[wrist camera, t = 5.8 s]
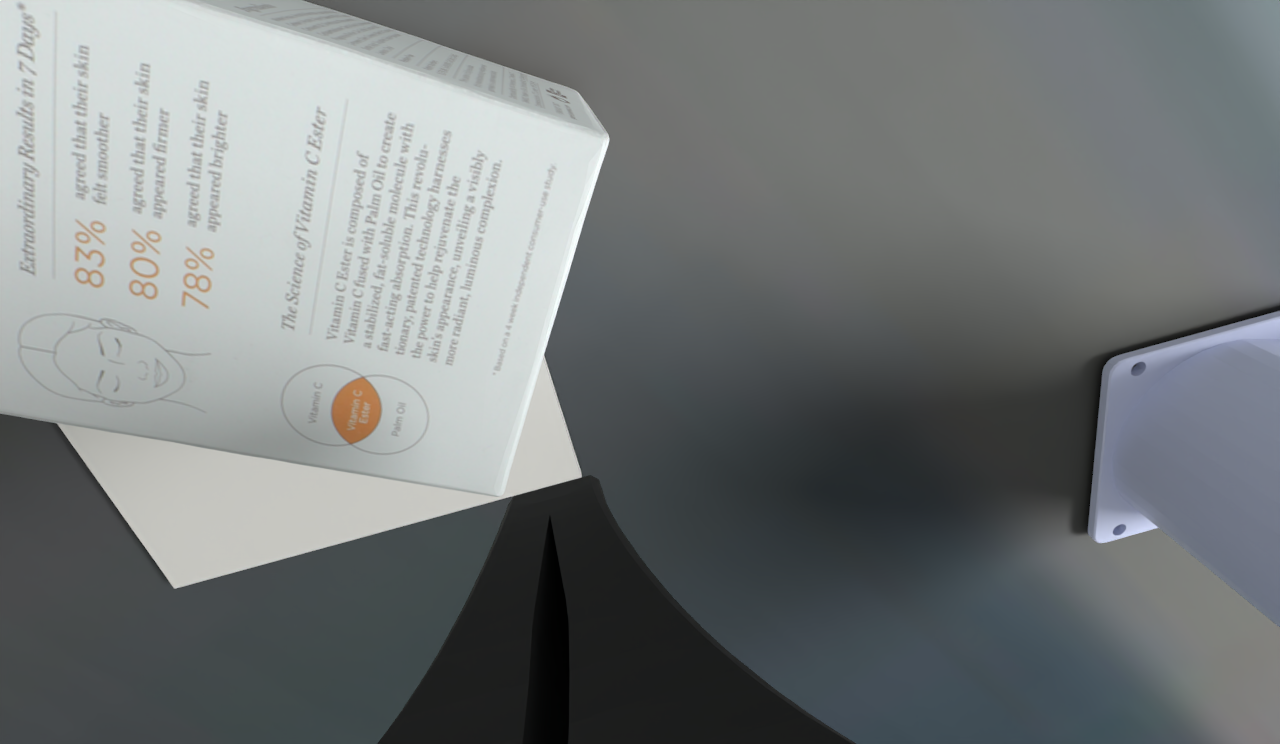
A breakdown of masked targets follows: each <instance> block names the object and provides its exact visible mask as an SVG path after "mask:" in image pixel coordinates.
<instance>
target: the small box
mask: <svg viewBox="0 0 1280 744" xmlns="http://www.w3.org/2000/svg"><path fill="white" fill-rule="evenodd" d="M608 143H609V135H608V134H607V132H606V130H605V128H604V127H603V126H602V125H601V123H600V121H599V120H598V119H597V117H596V116H595V114H594V113H593V111H592V110H591V109H590V107H589V106H588V104H587V103H586V102H585V101H584V99H583V98H582V97H581V95H580V94H579V93H578V92H577V91H576V90H573V89H571V88H568V87H566V86H563V85H559V84H556V83H553V82H550V81H547V80H544V79H541V78H538V77H535V76H532V75H529V74H526V73H523V72H520V71H517V70H514V69H511V68H508V67H505V66H502V65H499V64H496V63H493V62H490V61H487V60H484V59H481V58H478V57H475V56H472V55H469V54H466V53H463V52H460V51H457V50H454V49H451V48H448V47H445V46H442V45H439V44H436V43H433V42H431V41H428V40H425V39H422V38H419V37H416V36H413V35H410V34H407V33H404V32H401V31H398V30H395V29H391V28H388V27H385V26H382V25H379V24H376V23H373V22H370V21H367V20H364V19H361V18H357V17H354V16H351V15H348V14H345V13H342V12H339V11H335V10H332V9H329V8H326V7H322V6H319V5H316V4H313V3H309V2H306V1H303V0H0V414H6V415H12V416H18V417H23V418H29V419H35V420H41V421H47V422H52V423H58V424H64V425H71V426H77V427H83V428H89V429H95V430H101V431H106V432H111V433H119V434H126V435H132V436H138V437H143V438H149V439H156V440H163V441H169V442H175V443H180V444H185V445H190V446H195V447H201V448H206V449H212V450H218V451H223V452H229V453H234V454H240V455H246V456H252V457H259V458H265V459H271V460H277V461H282V462H288V463H293V464H299V465H305V466H311V467H318V468H324V469H330V470H336V471H342V472H348V473H354V474H360V475H366V476H372V477H377V478H383V479H389V480H395V481H401V482H407V483H413V484H420V485H426V486H432V487H438V488H444V489H450V490H456V491H462V492H468V493H474V494H481V495H487V496H494V497H500V496H501V495H503V494H504V491H505V488H506V484H507V481H508V477H509V473H510V469H511V466H512V462H513V459H514V456H515V452H516V449H517V445H518V442H519V439H520V435H521V432H522V428H523V425H524V422H525V418H526V415H527V411H528V408H529V404H530V401H531V398H532V394H533V391H534V387H535V384H536V380H537V377H538V374H539V370H540V367H541V363H542V360H543V356H544V353H545V349H546V346H547V343H548V339H549V336H550V333H551V329H552V326H553V323H554V319H555V316H556V313H557V310H558V306H559V303H560V300H561V296H562V293H563V290H564V286H565V283H566V280H567V277H568V273H569V270H570V266H571V263H572V260H573V256H574V253H575V250H576V246H577V243H578V239H579V236H580V233H581V229H582V226H583V222H584V219H585V216H586V212H587V209H588V206H589V203H590V200H591V197H592V193H593V190H594V187H595V184H596V180H597V177H598V174H599V171H600V168H601V165H602V162H603V159H604V156H605V153H606V150H607V147H608Z"/></svg>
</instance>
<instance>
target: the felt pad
mask: <svg viewBox="0 0 1280 744" xmlns="http://www.w3.org/2000/svg"><path fill="white" fill-rule="evenodd" d="M57 424H58V423H57ZM58 426H59V427H60V428H61V430H62V431H63V433H64V434H65V436H66V437H67V438H68V440H69V441H70V443H71V444H72V445H73V447H74V448H75V450H76V451H77V452H78V454H79V455H80V457H81V458H82V459H83V461H84V462H85V464H86V465H87V466H88V468H89V469H90V471H91V472H92V473H93V475H94V476H95V478H96V479H97V481H98V482H99V483H100V485H101V486H102V488H103V489H104V490H105V492H106V493H107V495H108V496H109V497H110V499H111V500H112V502H113V503H114V504H115V506H116V507H117V509H118V510H119V511H120V513H121V514H122V516H123V517H124V518H125V520H126V521H127V523H128V524H129V525H130V527H131V528H132V530H133V531H134V533H135V534H136V535H137V537H138V538H139V540H140V541H141V542H142V544H143V545H144V547H145V548H146V549H147V551H148V552H149V554H150V555H151V556H152V558H153V559H154V561H155V562H156V563H157V565H158V566H159V568H160V569H161V570H162V572H163V573H164V575H165V576H166V578H167V579H168V580H169V582H170V583H171V585H172V586H173V587H174V589H175V588H179V587H183V586H186V585H190V584H194V583H197V582H201V581H205V580H208V579H212V578H216V577H219V576H223V575H227V574H230V573H234V572H237V571H241V570H245V569H248V568H252V567H256V566H259V565H263V564H267V563H270V562H274V561H278V560H281V559H285V558H289V557H292V556H296V555H299V554H303V553H307V552H310V551H314V550H318V549H321V548H325V547H329V546H332V545H336V544H340V543H343V542H347V541H351V540H354V539H358V538H361V537H365V536H369V535H372V534H376V533H380V532H383V531H387V530H391V529H394V528H398V527H402V526H405V525H409V524H413V523H416V522H420V521H424V520H427V519H431V518H434V517H438V516H442V515H445V514H449V513H453V512H456V511H460V510H464V509H467V508H471V507H475V506H478V505H482V504H486V503H489V502H493V501H496V500H500V499H504V498H507V497H511V496H515V495H518V494H522V493H526V492H529V491H533V490H537V489H540V488H544V487H548V486H551V485H555V484H558V483H562V482H566V481H569V480H573V479H577V478H580V477H582V474H581V470H580V466H579V463H578V460H577V457H576V454H575V451H574V448H573V444H572V441H571V438H570V435H569V432H568V429H567V426H566V423H565V419H564V416H563V413H562V410H561V407H560V404H559V401H558V397H557V394H556V391H555V388H554V385H553V382H552V379H551V375H550V372H549V369H548V366H547V363H546V360H545V357H544V356H543V360H542V363H541V367H540V370H539V374H538V377H537V380H536V384H535V387H534V391H533V394H532V398H531V401H530V404H529V408H528V411H527V415H526V418H525V422H524V425H523V428H522V432H521V435H520V439H519V442H518V445H517V449H516V452H515V456H514V459H513V462H512V466H511V469H510V473H509V477H508V481H507V484H506V488H505V491H504V494H503V495H501V496H500V497H494V496H487V495H481V494H474V493H468V492H462V491H456V490H450V489H444V488H438V487H432V486H426V485H420V484H413V483H407V482H401V481H395V480H389V479H383V478H377V477H372V476H366V475H360V474H354V473H348V472H342V471H336V470H330V469H324V468H318V467H311V466H305V465H299V464H293V463H288V462H282V461H277V460H271V459H265V458H259V457H252V456H246V455H240V454H234V453H229V452H223V451H218V450H212V449H206V448H201V447H195V446H190V445H185V444H180V443H175V442H169V441H163V440H156V439H149V438H143V437H138V436H132V435H126V434H119V433H111V432H106V431H101V430H95V429H89V428H83V427H77V426H71V425H64V424H58Z"/></svg>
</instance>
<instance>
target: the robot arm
mask: <svg viewBox="0 0 1280 744" xmlns="http://www.w3.org/2000/svg"><path fill="white" fill-rule="evenodd" d="M1136 363H1137V364H1136ZM1135 364H1136V366H1135V367H1134V368H1133V369H1132V367H1133V366H1134V365H1135ZM1155 528H1160V529H1161V530H1162V531H1163V532H1164V533H1166V534H1167V535H1168V536H1169V537H1170V538H1172V539H1173V540H1174V541H1175V542H1177V543H1178V544H1179V545H1180V546H1181V547H1183V548H1184V549H1185V550H1186V551H1187V552H1189V553H1190V554H1191V555H1192V556H1194V557H1195V558H1196V559H1197V560H1198V561H1200V562H1201V563H1202V564H1203V565H1204V566H1206V567H1207V568H1208V569H1209V570H1211V571H1212V572H1213V573H1214V574H1215V575H1217V576H1218V577H1219V578H1220V579H1221V580H1223V581H1224V582H1225V583H1226V584H1228V585H1229V586H1230V587H1231V588H1232V589H1234V590H1235V591H1236V592H1237V593H1239V594H1240V595H1241V596H1242V597H1243V598H1245V599H1246V600H1247V601H1248V602H1249V603H1251V604H1252V605H1253V606H1254V607H1256V608H1257V609H1258V610H1259V611H1260V612H1262V613H1263V614H1264V615H1265V616H1266V617H1268V618H1269V619H1270V620H1271V621H1273V622H1274V623H1275V624H1276V625H1277V626H1279V627H1280V311H1277V312H1273V313H1270V314H1266V315H1262V316H1259V317H1255V318H1251V319H1248V320H1244V321H1240V322H1237V323H1233V324H1230V325H1226V326H1222V327H1219V328H1215V329H1211V330H1208V331H1204V332H1201V333H1197V334H1193V335H1190V336H1186V337H1182V338H1179V339H1175V340H1171V341H1168V342H1164V343H1161V344H1157V345H1153V346H1150V347H1146V348H1142V349H1139V350H1135V351H1132V352H1128V353H1124V354H1121V355H1117V356H1115V357H1113V358H1111V359H1110V360H1109V361H1108V362H1107V363H1106V364H1105V366H1104V368H1103V372H1102V382H1101V393H1100V404H1099V415H1098V425H1097V436H1096V447H1095V458H1094V469H1093V480H1092V490H1091V501H1090V512H1089V523H1088V535H1089V536H1090V537H1091V538H1092V539H1093V540H1094V541H1095V542H1097V543H1106V542H1109V541H1113V540H1116V539H1120V538H1123V537H1127V536H1130V535H1134V534H1137V533H1141V532H1145V531H1148V530H1152V529H1155ZM378 744H856V743H854V742H853V741H851V740H849V739H848V738H846V737H845V736H843V735H841V734H840V733H838V732H837V731H835V730H833V729H832V728H830V727H829V726H827V725H826V724H824V723H823V722H821V721H820V720H818V719H817V718H815V717H813V716H812V715H810V714H809V713H808V712H806V711H805V710H803V709H802V708H801V707H799V706H798V705H796V704H795V703H794V702H792V701H791V700H789V699H788V698H786V697H785V696H784V695H782V694H781V693H779V692H778V691H777V690H775V689H774V688H773V687H772V686H770V685H769V684H768V683H767V682H765V681H764V680H763V679H762V678H760V677H759V676H758V675H757V674H755V673H754V672H753V671H752V670H750V669H749V668H748V667H747V666H745V665H744V664H743V663H742V662H740V661H739V660H738V659H737V658H736V657H734V656H733V655H732V654H731V653H729V652H728V651H727V650H726V649H725V648H724V647H723V646H722V645H720V644H719V643H718V642H717V641H716V640H715V639H714V638H713V637H712V636H711V635H710V634H709V633H707V632H706V631H705V630H704V629H703V628H702V627H701V626H700V625H699V624H698V623H697V622H696V621H695V620H694V619H693V618H692V617H691V616H690V615H689V614H688V613H687V612H686V611H685V610H684V609H683V608H682V607H681V606H680V604H679V603H678V602H677V601H676V600H675V599H674V598H673V597H672V596H671V595H670V593H669V592H668V591H667V590H666V589H665V588H664V586H663V585H662V584H661V583H660V582H659V580H658V579H657V578H656V577H655V576H654V575H653V573H652V572H651V571H650V570H649V568H648V567H647V566H646V564H645V563H644V562H643V561H642V559H641V558H640V557H639V555H638V554H637V552H636V551H635V549H634V548H633V547H632V545H631V544H630V542H629V541H628V539H627V538H626V537H625V535H624V534H623V532H622V530H621V529H620V527H619V526H618V524H617V522H616V521H615V519H614V517H613V515H612V513H611V512H610V510H609V508H608V506H607V504H606V501H605V498H604V494H603V491H602V488H601V485H600V481H599V479H597V478H595V477H593V476H591V475H590V476H586V477H582V478H579V479H575V480H571V481H568V482H564V483H561V484H557V485H553V486H550V487H546V488H542V489H539V490H535V491H531V492H528V493H524V494H520V495H517V496H514V497H513V498H512V500H511V501H510V503H509V505H508V507H507V510H506V513H505V515H504V518H503V520H502V523H501V526H500V528H499V531H498V533H497V535H496V538H495V540H494V543H493V545H492V547H491V550H490V552H489V554H488V557H487V559H486V561H485V563H484V565H483V568H482V570H481V572H480V574H479V576H478V578H477V580H476V582H475V585H474V587H473V589H472V591H471V593H470V595H469V597H468V599H467V601H466V603H465V605H464V607H463V609H462V611H461V613H460V615H459V616H458V618H457V620H456V622H455V624H454V626H453V627H452V629H451V631H450V633H449V635H448V637H447V638H446V640H445V642H444V644H443V646H442V648H441V649H440V651H439V653H438V655H437V656H436V658H435V660H434V661H433V663H432V665H431V666H430V668H429V670H428V671H427V673H426V674H425V676H424V678H423V679H422V681H421V682H420V684H419V685H418V687H417V688H416V690H415V691H414V693H413V695H412V696H411V698H410V699H409V701H408V702H407V704H406V705H405V707H404V708H403V710H402V711H401V712H400V714H399V715H398V717H397V718H396V719H395V721H394V722H393V724H392V725H391V726H390V728H389V729H388V730H387V732H386V733H385V734H384V736H383V737H382V738H381V740H380V741H379V742H378Z"/></svg>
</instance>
